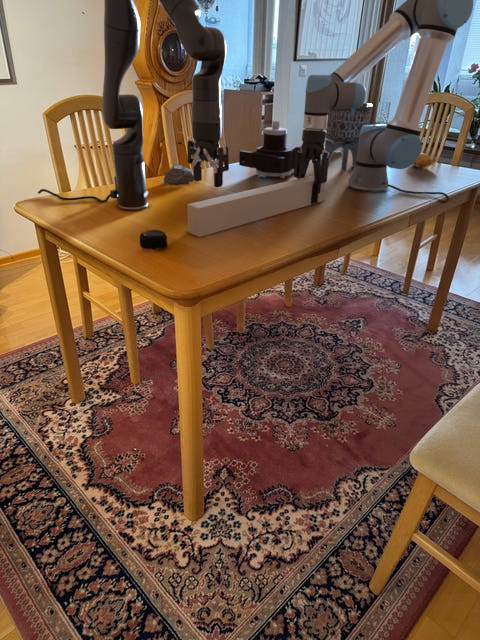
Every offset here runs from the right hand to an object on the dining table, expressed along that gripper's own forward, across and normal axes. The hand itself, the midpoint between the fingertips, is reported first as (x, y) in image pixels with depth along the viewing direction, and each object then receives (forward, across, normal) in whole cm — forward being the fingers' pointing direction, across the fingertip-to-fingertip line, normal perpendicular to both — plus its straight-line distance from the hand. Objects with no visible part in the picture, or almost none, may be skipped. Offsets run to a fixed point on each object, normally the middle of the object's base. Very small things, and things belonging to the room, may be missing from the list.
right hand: (307, 200), depth 158 cm
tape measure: (+1, +2, -65) cm, 65 cm away
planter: (+1, -27, +59) cm, 65 cm away
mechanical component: (+1, -36, +27) cm, 45 cm away
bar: (+1, 0, -23) cm, 23 cm away
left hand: (-13, 0, -45) cm, 47 cm away
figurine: (+1, -51, +92) cm, 105 cm away
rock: (+1, -50, -17) cm, 52 cm away
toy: (+1, -5, +90) cm, 91 cm away
